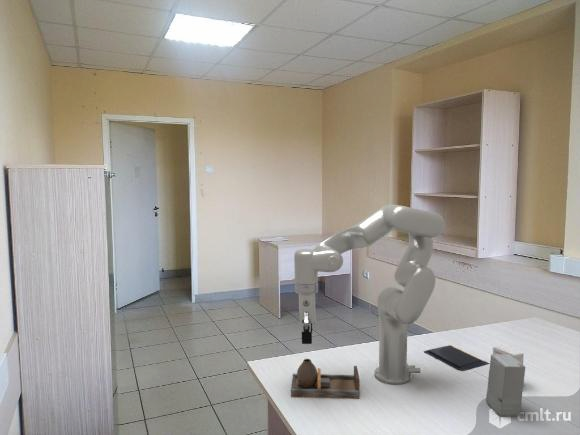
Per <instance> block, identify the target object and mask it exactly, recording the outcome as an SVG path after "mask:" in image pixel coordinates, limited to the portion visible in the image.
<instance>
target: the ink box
mask: <svg viewBox="0 0 580 435" xmlns="http://www.w3.org/2000/svg"><path fill="white" fill-rule="evenodd" d="M492 354H510V355H511V356H512V357H514V358H515V359H517V360H519V362H520V363H521V364H522V365H524V352H522V351H518V350H516V349H514V348H511V347H508V346H506V345H503V344H502V345H501V344H500V345H495V346H493V347H492Z"/></svg>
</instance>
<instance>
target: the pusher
mask: <svg viewBox="0 0 580 435" xmlns="http://www.w3.org/2000/svg"><path fill="white" fill-rule="evenodd" d="M321 369H322V368H321V367H319V368H318V367H317V373H318V389H321V387H330V378H321V374H322V372H321V371H322V370H321Z"/></svg>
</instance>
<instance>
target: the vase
mask: <svg viewBox="0 0 580 435" xmlns="http://www.w3.org/2000/svg"><path fill="white" fill-rule="evenodd" d="M296 371H297V372H296V374H297V380H298V382H299V384H300V385H301V386H302V387H304V388H311V387H313V386H314V385H315V384H316V382H317V378H318V368H317V367H316V366H315V364H314V363H313V362H312V360H311V359H310V358H304V359H303V360H302V363H301V364H300V365H299V366H298V369H297V370H296Z"/></svg>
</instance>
